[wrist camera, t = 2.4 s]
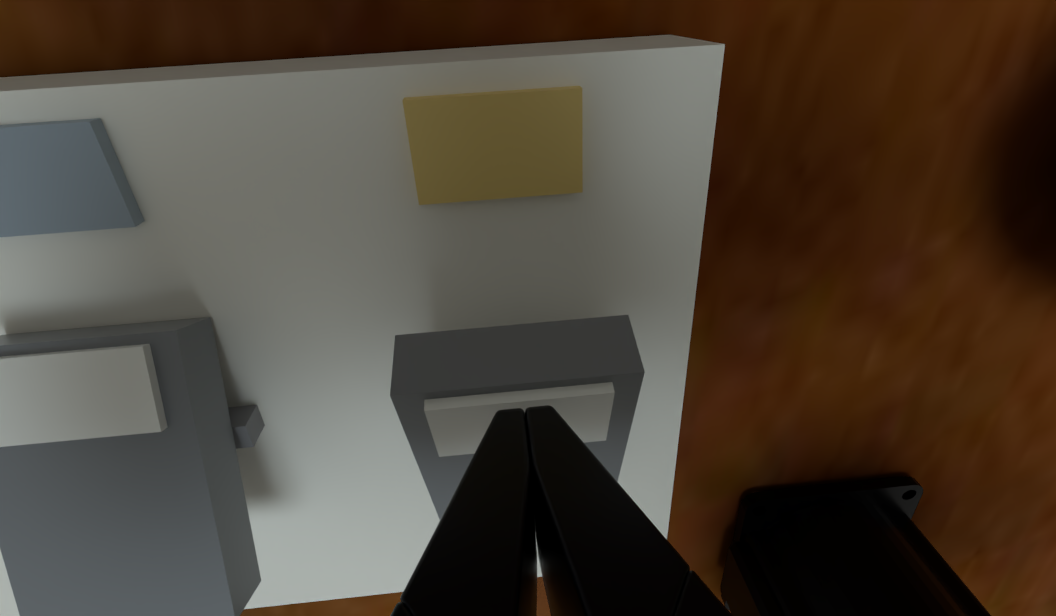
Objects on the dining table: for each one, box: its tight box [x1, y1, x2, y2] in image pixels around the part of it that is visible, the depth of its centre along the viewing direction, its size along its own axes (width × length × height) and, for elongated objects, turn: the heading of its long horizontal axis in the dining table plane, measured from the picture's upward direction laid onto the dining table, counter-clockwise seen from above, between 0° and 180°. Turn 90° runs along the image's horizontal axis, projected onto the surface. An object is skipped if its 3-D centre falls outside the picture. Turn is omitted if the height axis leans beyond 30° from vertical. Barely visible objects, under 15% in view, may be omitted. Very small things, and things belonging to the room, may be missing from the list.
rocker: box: [390, 315, 645, 520], centre depth 11 cm, size 4×6×1 cm, turn 3°
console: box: [0, 35, 725, 616], centre depth 13 cm, size 24×14×4 cm, turn 93°
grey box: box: [0, 317, 261, 616], centre depth 11 cm, size 4×6×1 cm, turn 3°
